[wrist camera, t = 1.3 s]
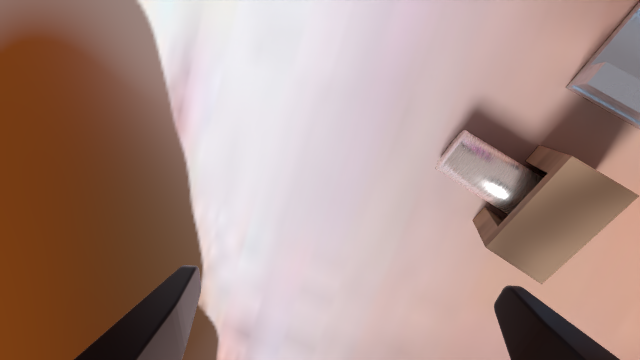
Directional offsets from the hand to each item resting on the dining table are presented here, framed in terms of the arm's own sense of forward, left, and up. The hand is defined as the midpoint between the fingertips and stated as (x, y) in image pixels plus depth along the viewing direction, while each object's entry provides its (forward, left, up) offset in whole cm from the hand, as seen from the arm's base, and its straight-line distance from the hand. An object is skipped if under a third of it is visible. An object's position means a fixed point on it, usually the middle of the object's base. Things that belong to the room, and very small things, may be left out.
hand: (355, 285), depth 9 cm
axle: (-7, -4, -18) cm, 20 cm away
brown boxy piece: (-9, -4, -18) cm, 20 cm away
